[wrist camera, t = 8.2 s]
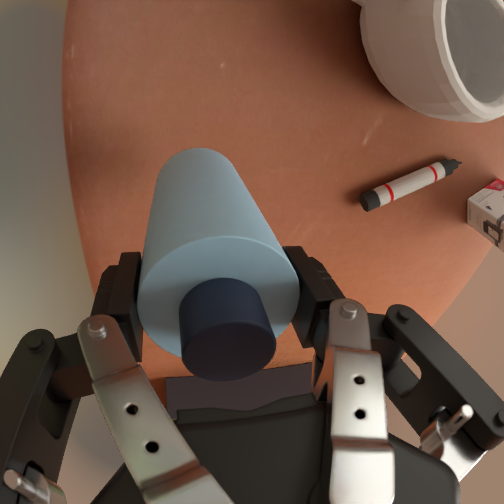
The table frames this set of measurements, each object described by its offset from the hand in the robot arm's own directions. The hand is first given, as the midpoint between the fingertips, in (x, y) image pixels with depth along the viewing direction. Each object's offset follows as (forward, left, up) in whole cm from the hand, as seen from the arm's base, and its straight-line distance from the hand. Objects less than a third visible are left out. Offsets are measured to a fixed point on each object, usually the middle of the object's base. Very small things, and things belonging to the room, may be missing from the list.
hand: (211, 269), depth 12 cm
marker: (+24, 0, -17) cm, 29 cm away
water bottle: (0, 0, -10) cm, 10 cm away
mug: (+19, +16, -17) cm, 30 cm away
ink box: (+41, -2, -17) cm, 44 cm away
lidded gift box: (+7, -36, -16) cm, 40 cm away
